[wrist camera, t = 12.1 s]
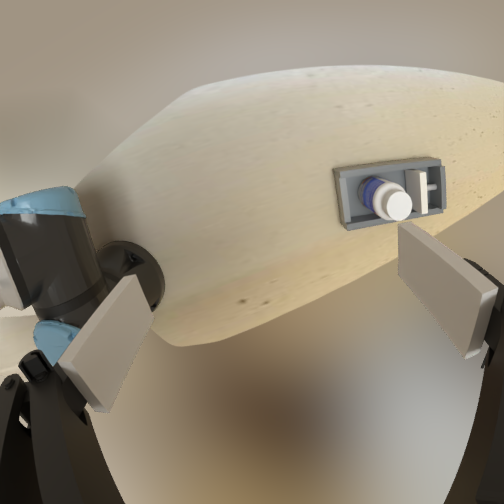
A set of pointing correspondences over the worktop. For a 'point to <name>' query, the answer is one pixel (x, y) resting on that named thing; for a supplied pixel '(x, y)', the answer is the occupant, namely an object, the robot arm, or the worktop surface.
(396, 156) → the worktop surface
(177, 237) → the worktop surface
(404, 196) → the pill bottle
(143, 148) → the worktop surface
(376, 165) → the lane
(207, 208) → the worktop surface
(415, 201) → the pusher
